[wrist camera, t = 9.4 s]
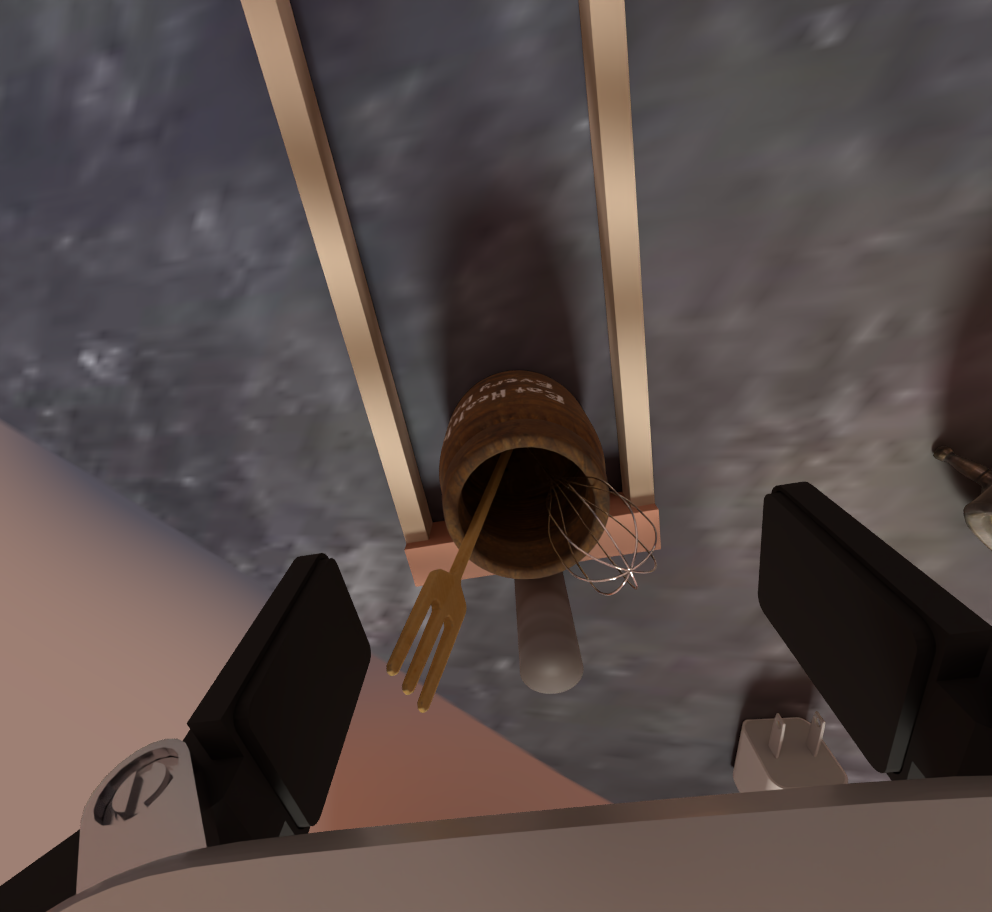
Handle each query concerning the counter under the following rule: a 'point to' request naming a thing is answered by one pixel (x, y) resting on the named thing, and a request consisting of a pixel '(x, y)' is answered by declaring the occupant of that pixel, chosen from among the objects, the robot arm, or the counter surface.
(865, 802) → the robot arm
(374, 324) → the guide channel
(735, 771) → the usb wall charger
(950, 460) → the alarm clock
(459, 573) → the utensil holder
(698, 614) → the counter surface
